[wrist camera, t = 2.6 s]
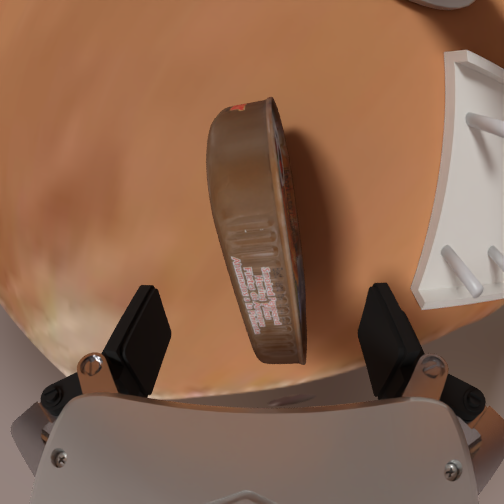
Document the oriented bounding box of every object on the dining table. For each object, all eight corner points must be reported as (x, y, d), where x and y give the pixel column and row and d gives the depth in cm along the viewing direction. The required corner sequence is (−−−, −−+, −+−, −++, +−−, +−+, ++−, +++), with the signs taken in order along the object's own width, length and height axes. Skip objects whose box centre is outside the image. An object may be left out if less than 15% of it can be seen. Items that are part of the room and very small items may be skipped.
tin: (306, 298, 21) (316, 390, 14) (267, 303, 22) (263, 394, 15) (278, 97, 14) (285, 92, 7) (224, 106, 14) (179, 115, 7)
